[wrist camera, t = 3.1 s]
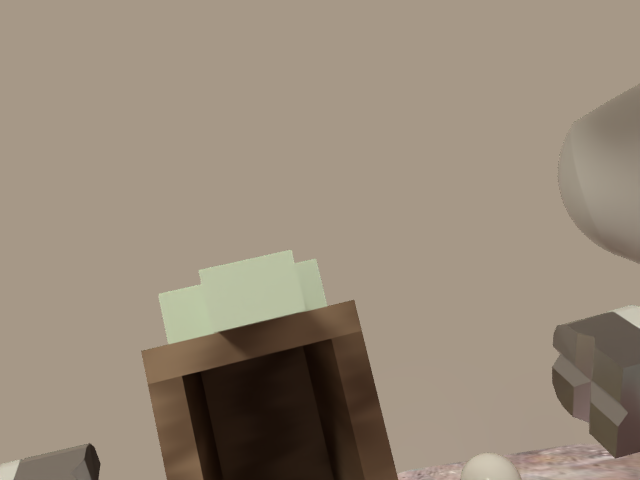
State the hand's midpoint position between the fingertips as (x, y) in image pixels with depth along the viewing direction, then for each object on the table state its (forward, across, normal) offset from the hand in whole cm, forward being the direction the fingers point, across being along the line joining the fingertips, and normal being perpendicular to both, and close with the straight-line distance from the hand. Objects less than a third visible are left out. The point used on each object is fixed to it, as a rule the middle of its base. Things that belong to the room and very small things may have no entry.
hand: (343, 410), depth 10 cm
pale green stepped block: (+17, +1, +7) cm, 18 cm away
